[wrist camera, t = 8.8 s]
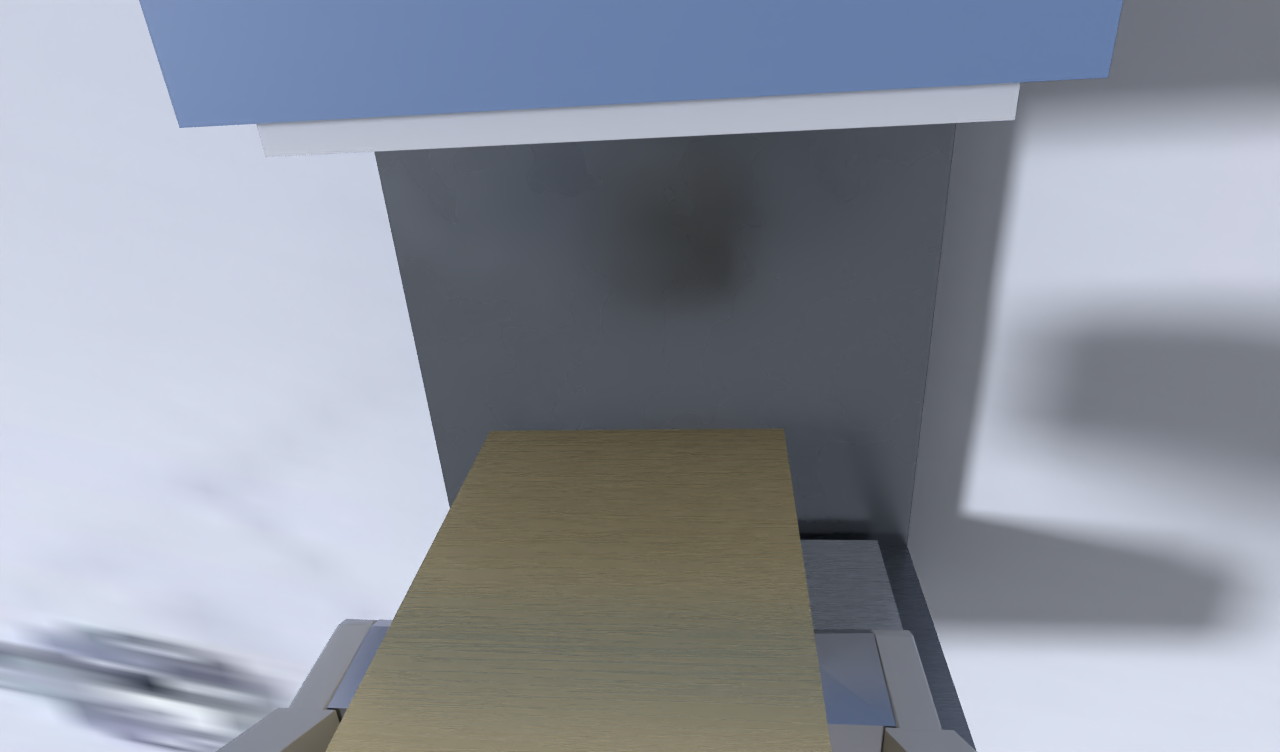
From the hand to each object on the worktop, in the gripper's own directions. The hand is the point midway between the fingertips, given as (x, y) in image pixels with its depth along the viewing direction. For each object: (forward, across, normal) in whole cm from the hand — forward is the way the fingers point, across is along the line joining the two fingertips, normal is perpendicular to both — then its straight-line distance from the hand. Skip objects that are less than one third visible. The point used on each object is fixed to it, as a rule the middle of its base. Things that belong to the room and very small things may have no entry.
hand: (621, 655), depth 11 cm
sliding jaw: (+11, 0, -8) cm, 14 cm away
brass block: (+3, 0, 0) cm, 3 cm away
